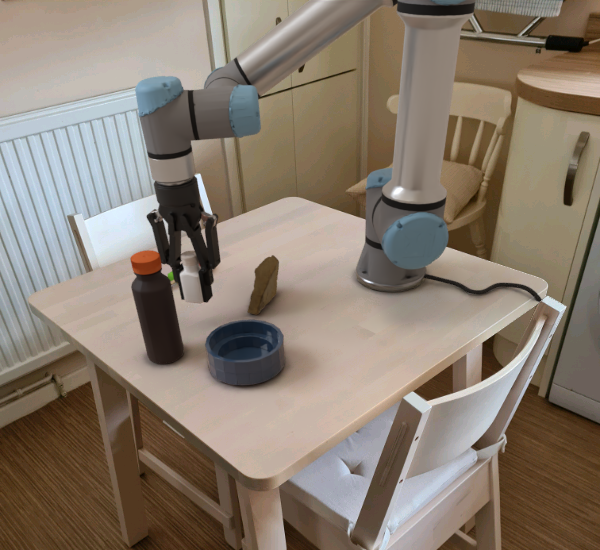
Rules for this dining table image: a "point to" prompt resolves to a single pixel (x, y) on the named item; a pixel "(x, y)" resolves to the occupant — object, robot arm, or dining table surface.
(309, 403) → the dining table surface
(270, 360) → the bowl
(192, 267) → the pepper shaker
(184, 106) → the robot arm
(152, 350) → the vinegar
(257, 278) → the rock
